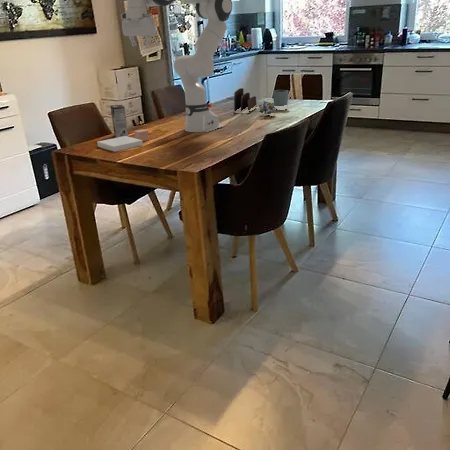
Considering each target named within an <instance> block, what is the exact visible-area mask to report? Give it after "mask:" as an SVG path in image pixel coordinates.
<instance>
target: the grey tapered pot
mask: <svg viewBox="0 0 450 450" xmlns="http://www.w3.org/2000/svg"><path fill="white" fill-rule="evenodd" d="M289 93H290V92H289V90H288V89H276V90H272V95H273V104H274V106H284V105H287V106H288V102H289Z"/></svg>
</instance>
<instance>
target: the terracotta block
mask: <svg viewBox="0 0 450 450" xmlns="http://www.w3.org/2000/svg"><path fill="white" fill-rule="evenodd" d="M133 134H134V138H135V139H139V140H142V141H143V142H146V141H150V140H149V139H150V138H149V131H148V130H147V129H136V130H133Z"/></svg>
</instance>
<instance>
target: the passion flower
mask: <svg viewBox="0 0 450 450" xmlns="http://www.w3.org/2000/svg"><path fill="white" fill-rule="evenodd" d="M262 102H263V103H262V104H261V103H260V104H259V106H258V108H259V111H258V113H259V112H260V114H261V113H262V114H266V115H267V114H271V113H274V112H276V110H275V109H276V108H275V107H274V102H271V101H266V100H265V99H263V101H262Z"/></svg>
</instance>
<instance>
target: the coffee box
mask: <svg viewBox="0 0 450 450" xmlns="http://www.w3.org/2000/svg"><path fill="white" fill-rule="evenodd" d="M109 106H110V113H111V120H112V126H113V128H112V129H113V134H114V138H117V137H122V136H128V137H129V132H128V131H129V130H128V123H127V115H126V107H125V106H124V105H123V104H112V105H109Z"/></svg>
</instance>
